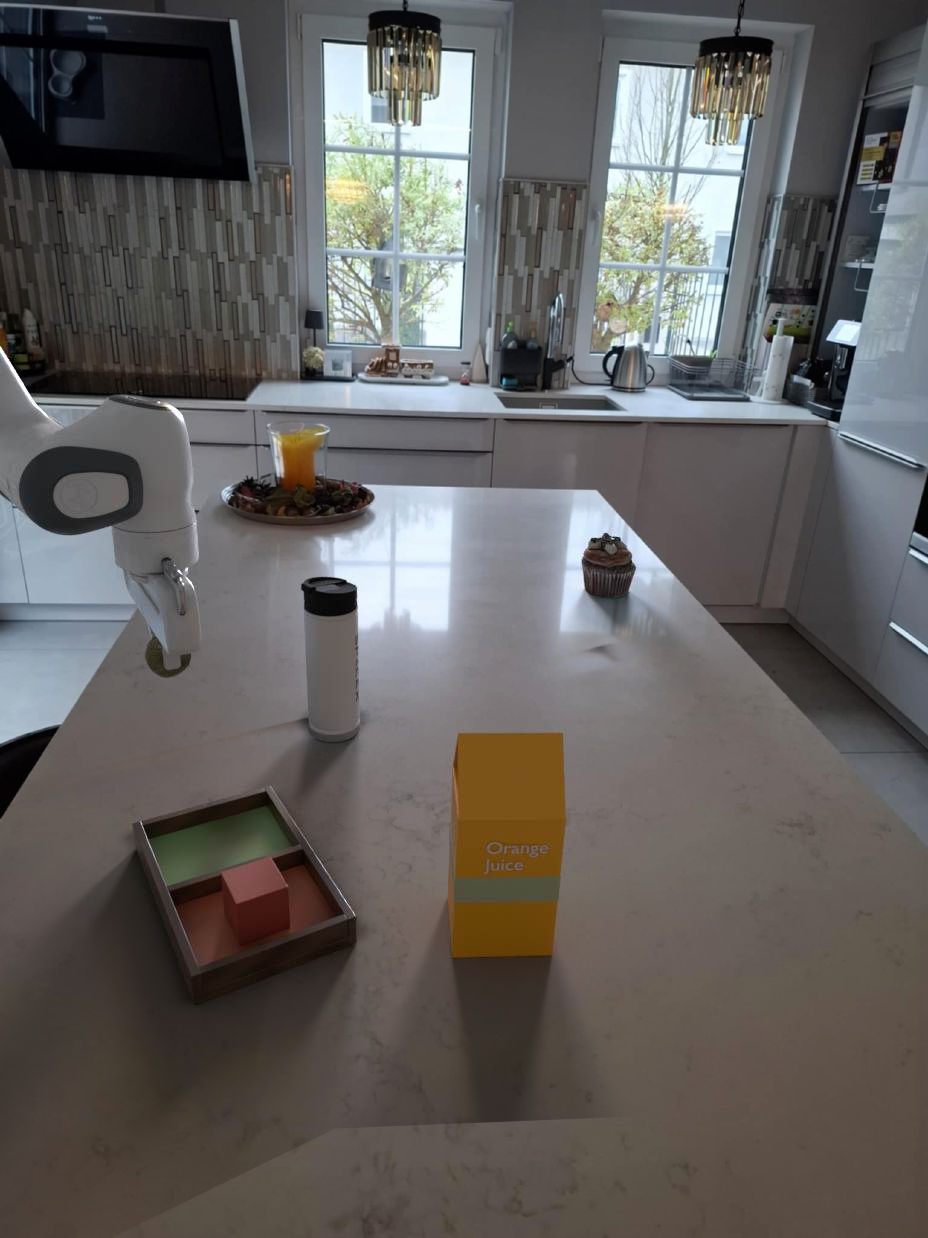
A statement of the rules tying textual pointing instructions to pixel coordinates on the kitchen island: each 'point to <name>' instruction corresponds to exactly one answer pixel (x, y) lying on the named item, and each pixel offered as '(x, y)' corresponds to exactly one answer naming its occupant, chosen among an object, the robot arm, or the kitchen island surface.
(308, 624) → the travel mug
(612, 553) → the cupcake
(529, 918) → the orange juice
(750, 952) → the kitchen island surface
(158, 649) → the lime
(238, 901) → the red block
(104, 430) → the robot arm
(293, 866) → the sorting tray
